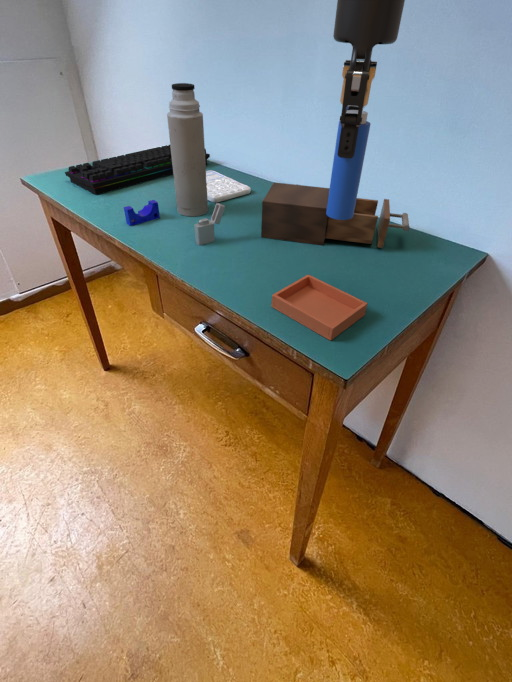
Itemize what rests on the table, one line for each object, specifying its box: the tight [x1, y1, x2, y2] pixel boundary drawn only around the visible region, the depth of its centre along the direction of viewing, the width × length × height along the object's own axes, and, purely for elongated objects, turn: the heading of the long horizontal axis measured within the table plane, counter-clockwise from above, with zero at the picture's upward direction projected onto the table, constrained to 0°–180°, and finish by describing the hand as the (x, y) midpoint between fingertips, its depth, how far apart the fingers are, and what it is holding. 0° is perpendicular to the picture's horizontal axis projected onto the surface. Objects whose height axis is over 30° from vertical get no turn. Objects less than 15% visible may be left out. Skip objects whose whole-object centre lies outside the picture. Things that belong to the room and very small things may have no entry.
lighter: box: [194, 202, 226, 246], centre depth 88 cm, size 7×2×8 cm, turn 125°
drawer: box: [325, 197, 410, 249], centre depth 91 cm, size 18×11×7 cm, turn 76°
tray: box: [271, 274, 369, 342], centre depth 70 cm, size 13×10×3 cm
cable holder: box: [123, 199, 161, 227], centre depth 97 cm, size 8×4×4 cm, turn 130°
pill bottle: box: [326, 110, 371, 220], centre depth 57 cm, size 4×4×14 cm
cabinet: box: [260, 182, 330, 246], centre depth 93 cm, size 15×13×9 cm
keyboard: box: [64, 144, 211, 196], centre depth 124 cm, size 42×16×5 cm, turn 137°
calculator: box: [206, 170, 252, 204], centre depth 115 cm, size 13×20×2 cm, turn 40°
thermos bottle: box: [166, 82, 209, 217], centre depth 94 cm, size 8×8×28 cm
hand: (346, 151), depth 56 cm, fingers closed on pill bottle, 4 cm apart
